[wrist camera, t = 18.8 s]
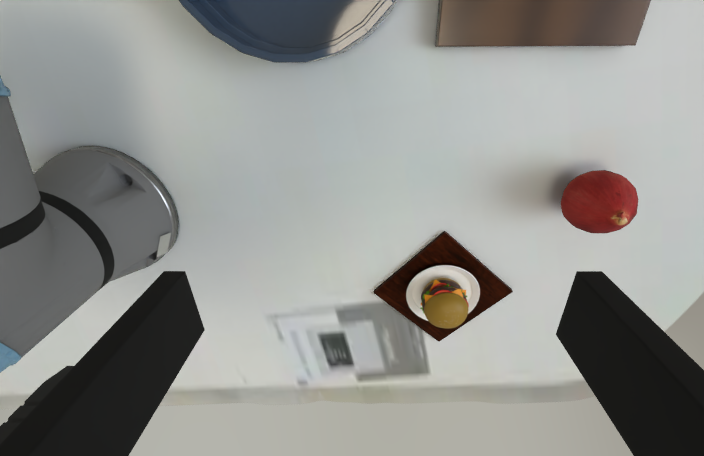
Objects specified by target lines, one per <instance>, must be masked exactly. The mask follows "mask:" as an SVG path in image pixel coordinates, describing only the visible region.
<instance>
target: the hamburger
mask: <svg viewBox="0 0 704 456" xmlns="http://www.w3.org/2000/svg"><path fill="white" fill-rule="evenodd" d="M511 292H513V291H512V289H511V288H510V287H508V286H507V285H506V284H505V283H504V282H503V281H502V280H500V279H499V278H498V277H497V276H496V275H495V274H494V273H492V272H491V271H490V270H489V269H488V268H487V267H486V266H484V265H483V264H482V263H481V262H480V261H479V260H478V259H476V258H475V257H474V256H473V255H472V254H471V253H470V252H468V251H467V250H466V249H465V248H464V247H463V246H462V245H460V244H459V243H458V242H457V241H456V240H455V239H454V238H452V237H451V236H450V235H449V234H448V233H447V232H445V231H444V232H443V233H442V234H440V235H439V236H438V237H437V238H436V239H435V240H433V241H432V242H431V243H430V244H429V245H427V246H426V247H425V248H424V249H423V250H422V251H420V252H419V253H418V254H417V255H416V256H414V257H413V258H412V259H411V260H410V261H409V262H407V263H406V264H405V265H404V266H403V267H401V268H400V269H399V270H398V271H397V272H396V273H394V274H393V275H392V276H391V277H390V278H388V279H387V280H386V281H385V282H384V283H383V284H381V285H380V286H379V287H378V288H377V289H375V290H374V293H375V294H376V295H377V296H379V297H380V298H381V299H383V300H384V301H385V302H387V303H388V304H389V305H391V306H392V307H393V308H395V309H396V310H397V311H399V312H400V313H401V314H403V315H404V316H405V317H407V318H408V319H409V320H411V321H412V322H413V323H415V324H416V325H417V326H419V327H420V328H421V329H423V330H424V331H425V332H427V333H428V334H429V335H431V336H432V337H433V338H435V339H436V340H437V341H441V340H442V339H444V338H445V337H447V336H448V335H449V334H451V333H452V332H454V331H455V330H457V329H458V328H460V327H461V326H463V325H464V324H466V323H467V322H469V321H470V320H472V319H473V318H475V317H476V316H478V315H479V314H480V313H482V312H483V311H485V310H486V309H488V308H489V307H491V306H492V305H494V304H495V303H497V302H498V301H500V300H501V299H503V298H504V297H506V296H507V295H509V294H510V293H511Z"/></svg>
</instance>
